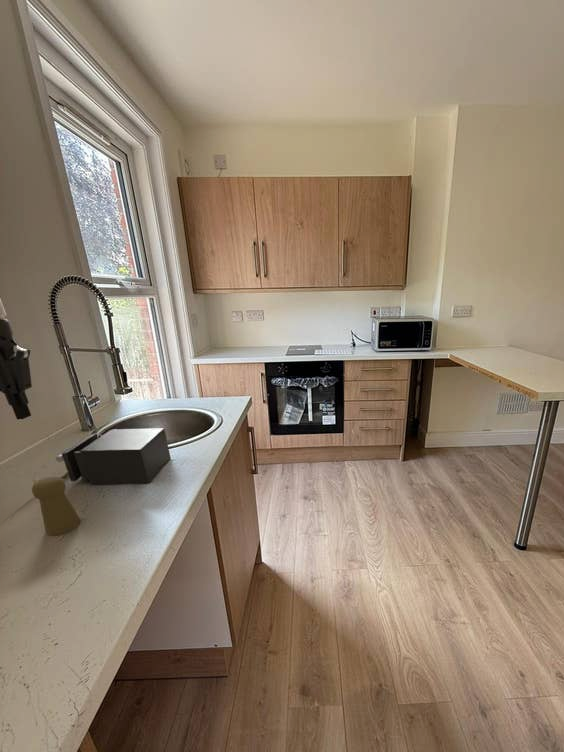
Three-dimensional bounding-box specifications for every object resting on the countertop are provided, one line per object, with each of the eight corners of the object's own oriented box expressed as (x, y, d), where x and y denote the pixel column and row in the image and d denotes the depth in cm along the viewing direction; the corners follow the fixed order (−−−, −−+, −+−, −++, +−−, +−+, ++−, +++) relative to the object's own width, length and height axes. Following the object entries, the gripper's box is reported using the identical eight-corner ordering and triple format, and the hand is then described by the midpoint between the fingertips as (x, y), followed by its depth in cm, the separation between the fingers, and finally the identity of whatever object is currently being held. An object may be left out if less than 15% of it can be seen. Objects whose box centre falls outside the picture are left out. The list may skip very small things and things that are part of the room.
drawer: (54, 481, 87) (43, 453, 84) (85, 459, 99) (76, 433, 96) (124, 480, 87) (116, 452, 84) (147, 457, 99) (141, 432, 96)
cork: (81, 528, 71) (64, 481, 67) (44, 539, 68) (24, 491, 64) (80, 513, 76) (64, 469, 72) (46, 524, 73) (27, 478, 69)
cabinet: (91, 485, 87) (79, 450, 83) (120, 460, 100) (111, 429, 96) (149, 484, 87) (140, 449, 83) (171, 459, 100) (164, 428, 96)
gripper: (28, 316, 82) (60, 411, 91) (-28, 318, 82) (10, 412, 91) (0, 319, 75) (38, 422, 84) (-60, 321, 75) (-15, 423, 84)
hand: (24, 417), depth 87 cm, fingers closed
